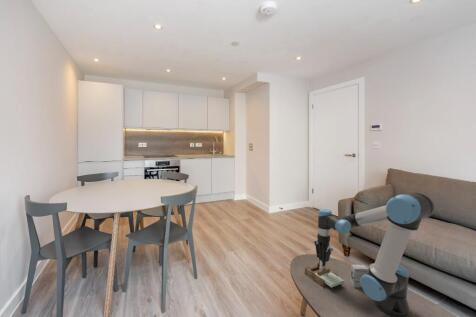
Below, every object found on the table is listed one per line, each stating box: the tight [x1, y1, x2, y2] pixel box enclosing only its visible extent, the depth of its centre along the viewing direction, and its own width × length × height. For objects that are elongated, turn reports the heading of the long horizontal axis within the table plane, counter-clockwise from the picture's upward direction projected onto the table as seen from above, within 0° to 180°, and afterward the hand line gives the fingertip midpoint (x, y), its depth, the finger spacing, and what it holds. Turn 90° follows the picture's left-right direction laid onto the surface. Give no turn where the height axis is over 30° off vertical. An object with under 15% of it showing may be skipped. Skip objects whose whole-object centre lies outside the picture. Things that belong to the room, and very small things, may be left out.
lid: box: [315, 267, 345, 289], centre depth 135 cm, size 13×11×4 cm
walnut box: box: [304, 262, 339, 288], centre depth 140 cm, size 15×13×4 cm
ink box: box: [349, 264, 369, 289], centre depth 133 cm, size 9×5×12 cm, turn 84°
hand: (321, 270), depth 140 cm, fingers closed
